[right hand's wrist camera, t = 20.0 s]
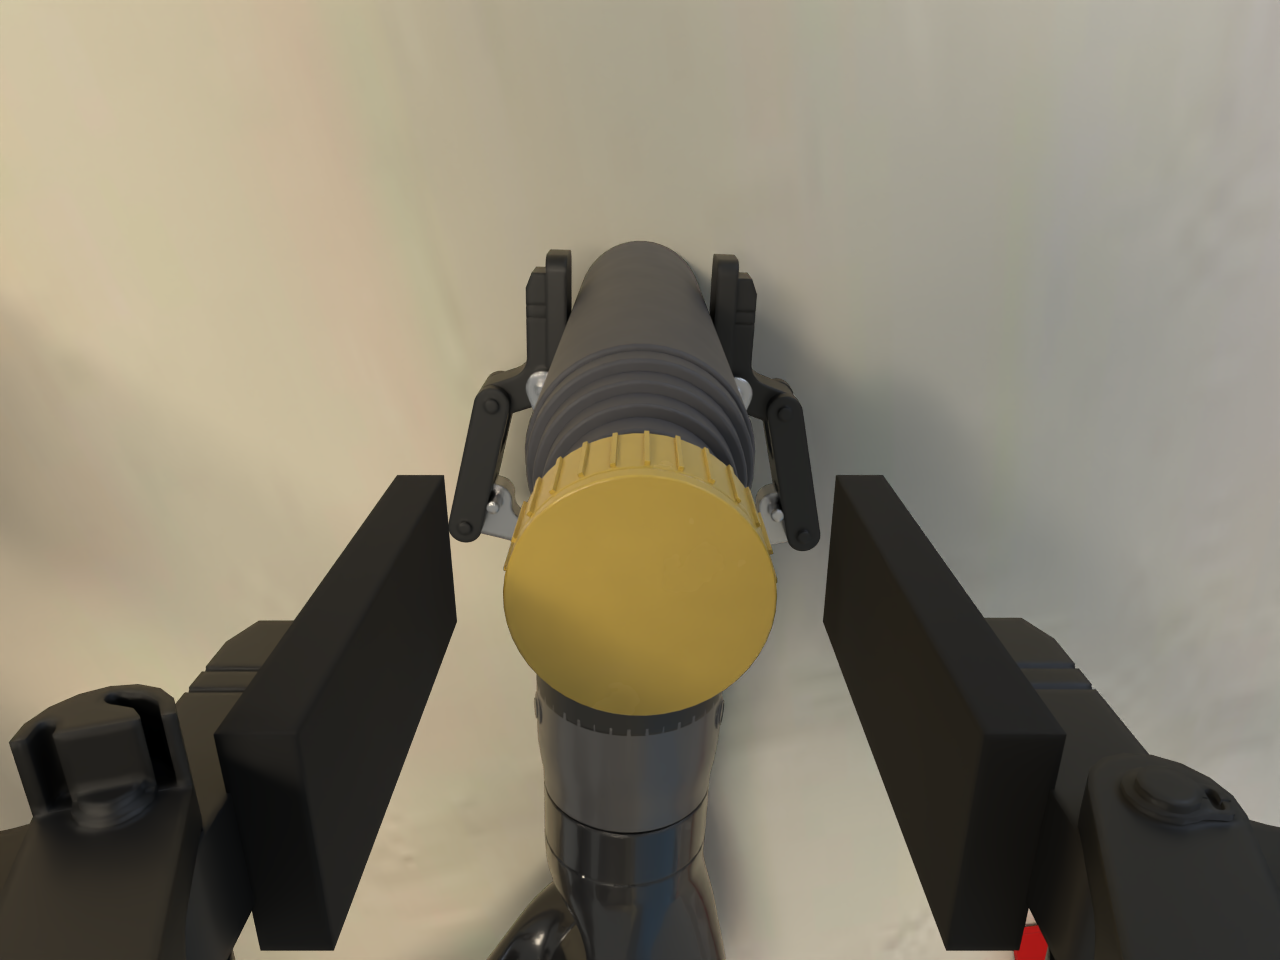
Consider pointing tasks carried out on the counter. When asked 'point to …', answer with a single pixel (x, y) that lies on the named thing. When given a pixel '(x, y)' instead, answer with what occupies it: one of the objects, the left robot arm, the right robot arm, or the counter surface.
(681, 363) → the bottle
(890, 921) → the counter surface
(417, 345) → the counter surface
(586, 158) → the counter surface
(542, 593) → the cap
